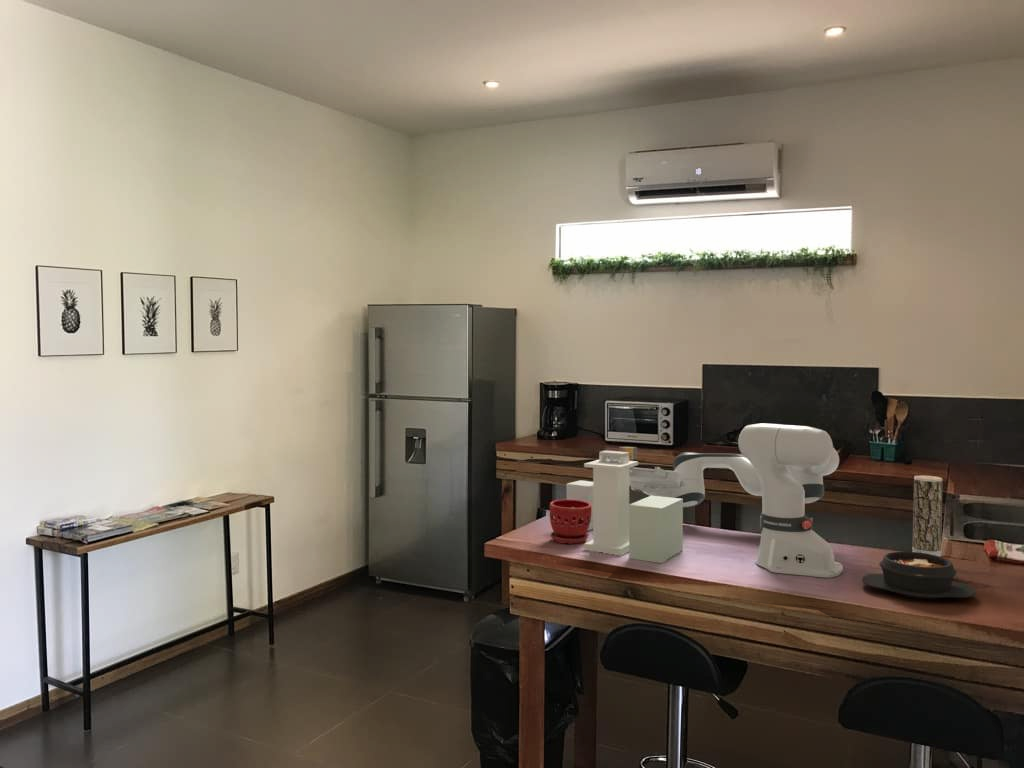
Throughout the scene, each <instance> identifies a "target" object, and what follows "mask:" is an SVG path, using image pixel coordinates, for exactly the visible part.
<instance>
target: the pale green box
mask: <svg viewBox="0 0 1024 768" xmlns="http://www.w3.org/2000/svg"><path fill="white" fill-rule="evenodd" d="M683 512H684V508H683V499H680V498H671V497H661V496H652V495H648V496H647V497H644V498H641V499H639V500H637V501H635V502H632V503H629V552H628V558H629V559H633V560H639V561H646V562H652V563H658V564H659V563H660V564H663V563H665V562H666V561H668V560H669V558H670V557H671V558H673V557H674V556H676V555H678V554H679V553H681V552H682V550H683V541H684V540H683V539H684V538H683V537H684V536H683V535H684V532H683V527H684V526H683V525H684V514H683ZM680 551H681V552H680ZM677 553H678V554H677ZM675 554H676V555H675ZM673 555H674V556H673ZM672 556H673V557H672ZM671 558H670V559H671ZM667 559H668V560H667Z"/></svg>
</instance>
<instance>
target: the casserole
mask: <svg viewBox="0 0 1024 768" xmlns="http://www.w3.org/2000/svg"><path fill="white" fill-rule="evenodd" d="M879 567H880V568H881V570H882V573H867V574H865V575H863V576H862V577H861V582H862V583H863V584H865V585H866V586H868V587H870V588H873V589H874V588H875V589H879V590H884V591H889V592H892V593H894V594H897V595H899V596H903V597H905V598H911V599H916V600H917V599H918V600H938V599H942V598H956V599H957V598H958V599H961V598H967V599H968V598H970V597H973V596H975V595H976V593H977V592H976V590H975V589H974V588H973V587H972V586H970V585H969V584H967V583H964V582H959V581H954V580H953V579H954V578H955V577H954V576H956V575H957V573H958V572H957V570H956V569H955V568H954V564H953V562H952V561H951V560H949V559H947V558H945V557H942V556H941V557H939V556H935V555H931V554H925V553H918V552H913V551H893V552H889V553H888V552H887V553H886V554H884V555H883V558H882V560H881V561H880V562H879Z"/></svg>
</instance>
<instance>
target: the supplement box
mask: <svg viewBox="0 0 1024 768" xmlns="http://www.w3.org/2000/svg"><path fill="white" fill-rule="evenodd" d="M565 485H566V499H568V500H580V501H585V502H588V503H590V504H591V506H592V510H591V520H590V525H589V528H588V530H587V532H589V531H591V530H593V481H589V480H582V479H581V480H576V481H572V482H568V483H566V484H565ZM571 508H575V507H571ZM582 520H583V518H582Z"/></svg>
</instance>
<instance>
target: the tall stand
mask: <svg viewBox="0 0 1024 768" xmlns="http://www.w3.org/2000/svg"><path fill="white" fill-rule="evenodd" d="M598 454H599V456H598V459H596V460H593V461H590V462H585V463H583V468H592V475H593V476H592V477H593V478H592V480H593V481H592V482H593V529H592V530H593V531H592V533H593V535H592V539H591V540H589V541H587V542H585V543H583V545H584V547H583V549H584V551H586V550H591V551H590V552H593V551H597V552H596V553H599V552H603V553H602V554H606V553H610V554H609V555H612V554H614V556H619V557H620V556H624V555H626V554H627V553H629V504H630V485H629V468H630V467H633V466H634V467H635V466H639V461H636V460H635V461H634V460H629V452H619V451H618V450H617V451H616V450H607V449H605V450H602V451H599V453H598ZM609 456H614V457H621V461H615V462H611V461H609Z"/></svg>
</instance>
